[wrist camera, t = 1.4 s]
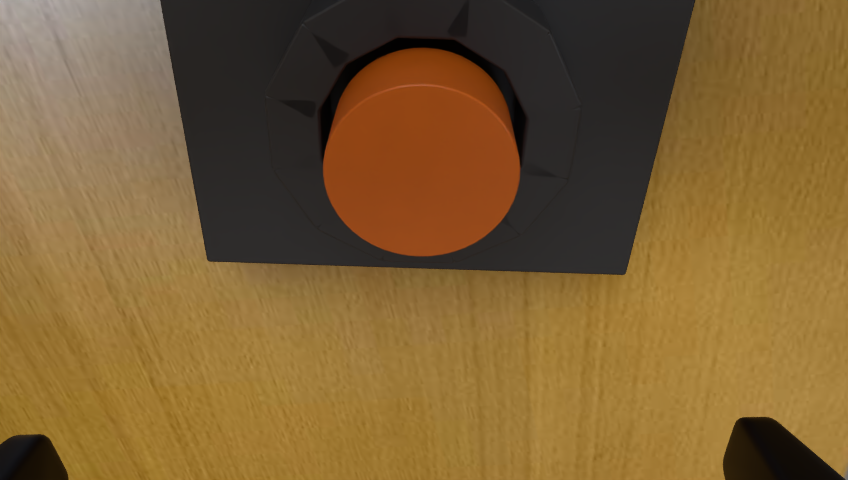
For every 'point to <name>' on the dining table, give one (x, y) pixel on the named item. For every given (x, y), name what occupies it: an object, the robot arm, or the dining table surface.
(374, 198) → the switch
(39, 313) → the dining table surface
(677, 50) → the switch base
